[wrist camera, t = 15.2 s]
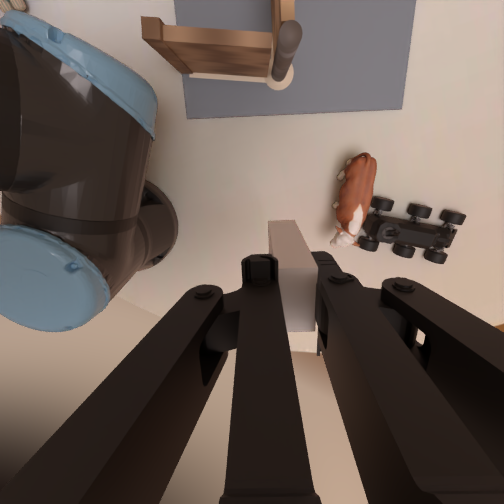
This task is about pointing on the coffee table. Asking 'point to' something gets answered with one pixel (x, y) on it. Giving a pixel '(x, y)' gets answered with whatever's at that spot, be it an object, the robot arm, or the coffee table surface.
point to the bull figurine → (354, 198)
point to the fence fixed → (223, 48)
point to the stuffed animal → (12, 5)
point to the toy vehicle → (409, 231)
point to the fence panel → (280, 17)
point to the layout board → (308, 58)
